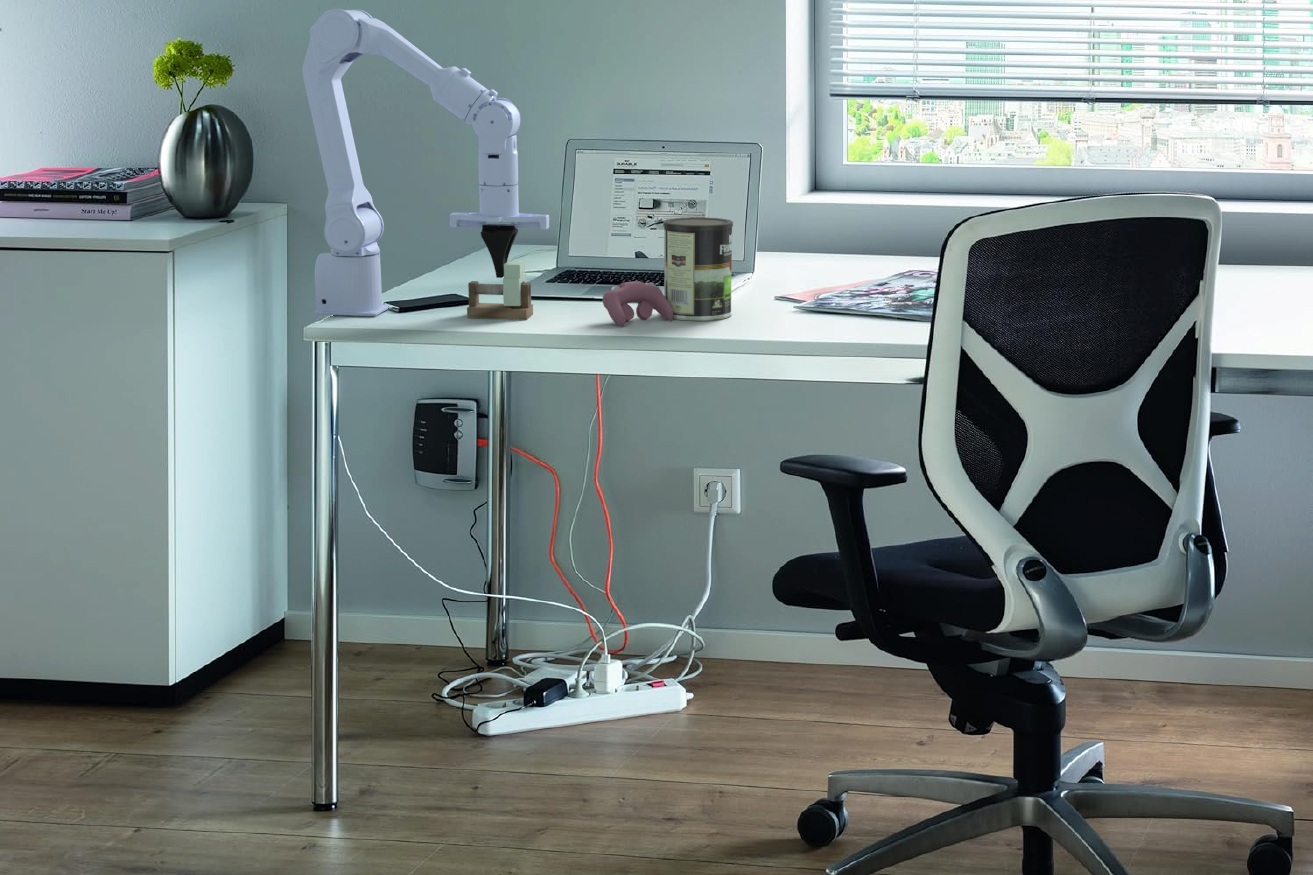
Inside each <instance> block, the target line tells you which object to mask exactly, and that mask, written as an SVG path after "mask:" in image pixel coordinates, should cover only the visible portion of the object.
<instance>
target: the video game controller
mask: <svg viewBox="0 0 1313 875" xmlns="http://www.w3.org/2000/svg"><path fill="white" fill-rule="evenodd" d="M602 303H603V304H602V305H603V307H604V308H605V309H606V311H607V312H608V314H609V317H610V318H611V320H612V322H613V323H614V324H615V325H616V326H617V327H619V326H620V328H622V327H623V328H624V327H625V325H626V323H628V322H629V321H632V320H633V319H634V317H635V314H636V316H637V317H638V319H640V321H646V320H648V319H649V318H651V317H652V316H653V312H654V311H653V310H655V311H656V312H657V313H658V315H660V317H661V318H663V319H664V320H666V321H667V322H670V321H672V320H673V319H672V318H673V310H672V307H671V305H670V304H669V302H668V301H667V299H666V298H665V296H664V293H663V292H662V290H661V288H660V287H659V286H656V284H655V283H654V282H652V281H651V282H642V281H639V280H638V281H637V280H636V281H634V280H633V281H627V282H622V283H620V284H617V285H615V286H611V287H610V288H608V290H607V291H605V292H604V294H603V295H602ZM630 303H637V306H636V308H635V309H636V310H634V308H633V307H632V306H631V305H629V304H630Z"/></svg>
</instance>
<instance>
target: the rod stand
mask: <svg viewBox="0 0 1313 875" xmlns="http://www.w3.org/2000/svg"><path fill="white" fill-rule="evenodd" d="M467 285H468V307H466V318H467V319H487V320H489V319H491V320H492V319H493V320H521V321H522V320H523V321H524V320H526V321H527V320H528V319H529V318H530V317H532V316H533V315H534V304H533V303H532V283H531V282H527V281H526V282H524V283H523V284H521V304H522V305H520V306H504V303H497V302H495V303H494V302H492V303H491V302H480V295H485V296H486V295H490V296H503V283H479V280H471V281H470V282H468V284H467Z"/></svg>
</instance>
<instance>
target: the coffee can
mask: <svg viewBox="0 0 1313 875" xmlns="http://www.w3.org/2000/svg"><path fill="white" fill-rule="evenodd" d="M662 226H663V229H664V232H663V234H664V235H663V236H664V237H663V238H664V240H663V241H664V243H663V245H664V246H663V247H664V248H663V250H664V254H663V258H664V265H663V267H664V273H663V275H664V277H663V279H664V282H663V283H664V284H663V285H664V287H663V289H664V291H663V292H664V293H663V295H664V296H665V298H666V299H667V301H668V302H669V304H670V305H671V307H672V310H673V318H672V320H677V321H686V322H687V321H688V322H689V321H691V322H706V321H707V322H709V321H710V322H711V321H719V320H725V319H729V318H730V317H732V314H733V313H732V269H733V268H732V257H733V255H732V254H733V253H732V251H733V250H732V249H733V244H732V243H733V227H734V221H733V220H731V219H726V218H721V217H720V218H718V217H705V216H704V217H702V216H701V217H699V216H698V217H695V216H694V217H679V218H677V217H676V218H670V219H666V220H663V222H662Z"/></svg>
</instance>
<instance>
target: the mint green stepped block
mask: <svg viewBox="0 0 1313 875" xmlns="http://www.w3.org/2000/svg"><path fill="white" fill-rule="evenodd" d="M525 268H526V267H525V261H507V263H505V264H504V277H502V284H503V295H502V297H503V304H504V306H520V305H522V304H521V284H523V283H524V282H527V275H526V274H525Z"/></svg>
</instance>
